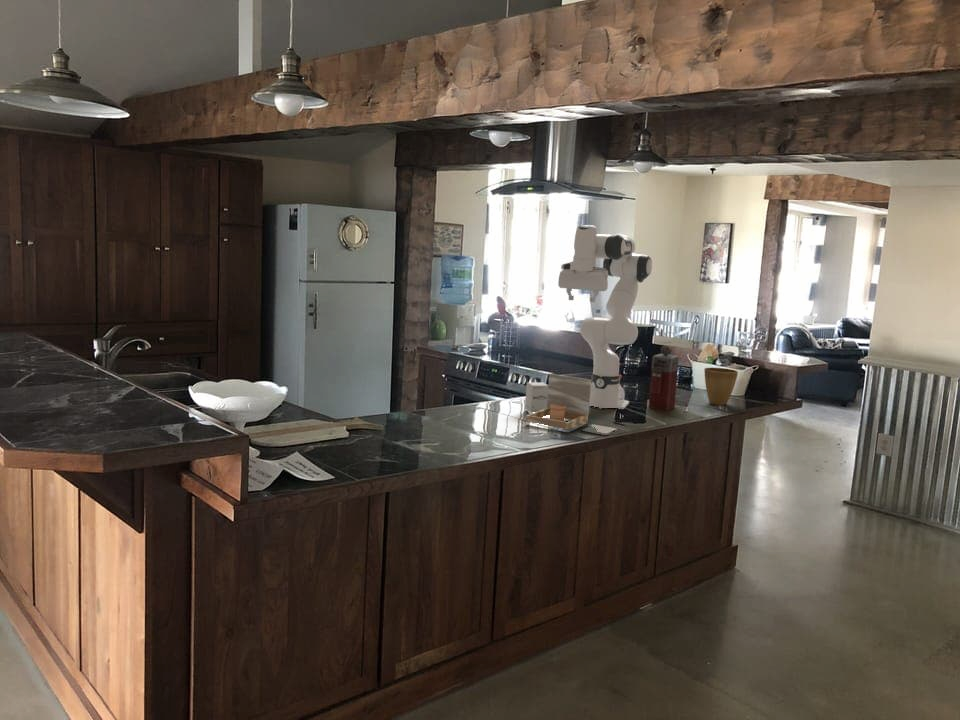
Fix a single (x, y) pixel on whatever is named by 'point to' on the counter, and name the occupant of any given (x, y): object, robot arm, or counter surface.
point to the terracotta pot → (557, 411)
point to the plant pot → (719, 384)
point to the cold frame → (565, 401)
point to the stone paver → (603, 428)
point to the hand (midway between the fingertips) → (581, 301)
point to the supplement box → (536, 396)
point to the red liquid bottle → (663, 380)
